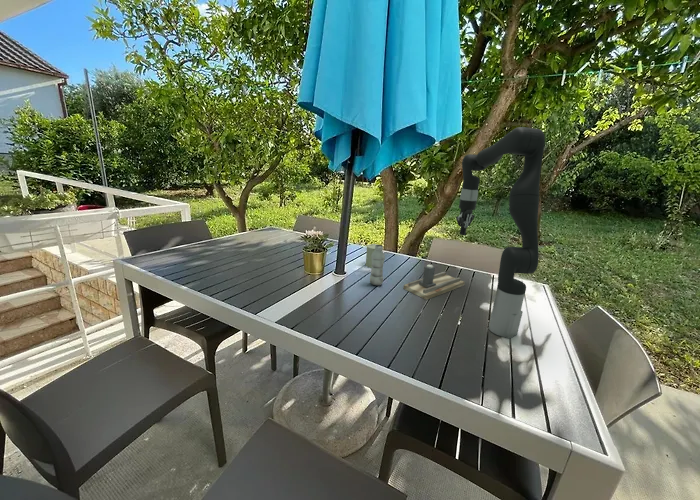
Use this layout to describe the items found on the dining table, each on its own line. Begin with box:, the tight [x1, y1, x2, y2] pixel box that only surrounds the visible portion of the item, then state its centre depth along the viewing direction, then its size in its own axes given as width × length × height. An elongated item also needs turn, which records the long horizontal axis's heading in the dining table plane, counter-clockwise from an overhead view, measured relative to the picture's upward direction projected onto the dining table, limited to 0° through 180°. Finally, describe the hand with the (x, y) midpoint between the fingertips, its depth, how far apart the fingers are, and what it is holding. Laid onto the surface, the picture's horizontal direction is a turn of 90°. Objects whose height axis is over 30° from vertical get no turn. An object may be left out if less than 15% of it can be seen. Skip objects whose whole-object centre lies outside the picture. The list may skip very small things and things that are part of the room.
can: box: [365, 243, 379, 269], centre depth 179 cm, size 9×9×12 cm
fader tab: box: [419, 264, 436, 288], centre depth 150 cm, size 6×5×10 cm
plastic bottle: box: [369, 244, 386, 286], centre depth 152 cm, size 6×7×20 cm
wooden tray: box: [402, 271, 466, 301], centre depth 155 cm, size 14×30×4 cm, turn 128°
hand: (462, 234), depth 151 cm, fingers closed
